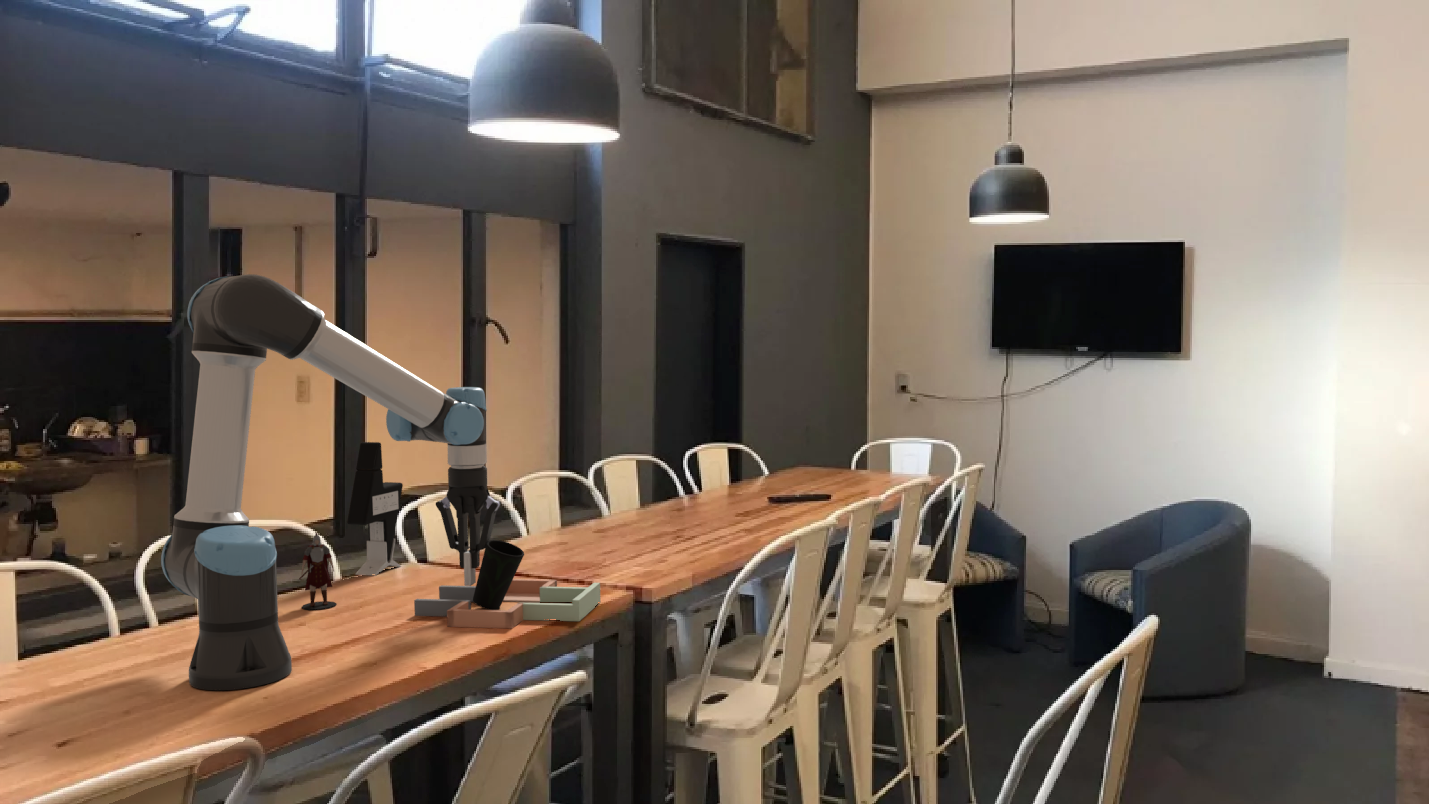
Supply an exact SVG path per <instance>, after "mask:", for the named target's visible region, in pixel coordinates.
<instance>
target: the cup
mask: <svg viewBox="0 0 1429 804" xmlns="http://www.w3.org/2000/svg"><path fill="white" fill-rule="evenodd" d="M524 556H525V552H524V551H523V549H521V547H519V546H517V545H515V544H513V543H511V542H509V541H508V542H507V541H503V540H499V539H490V541H487V543H486V547H485V549H484V551H483V556H482V560H481V562H480V568H479V571H478V572H479V573H478V576H477V580H476V583H475V584H476V585H475V586H476V588H475V592H474V596H473V602H472V603H474V604H475V605H477V606H478V607H480V608H483V609H484V610H500V608H501V606H502V604H503V602H504V601H503V600H504V597H505V595H506V593H507V591H508V589H509V587H510V584H511V582H512V580H513V579H515V576H516V573H517V571H518V569H519V567H520V565H521V562H522V560H523V558H524Z"/></svg>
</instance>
